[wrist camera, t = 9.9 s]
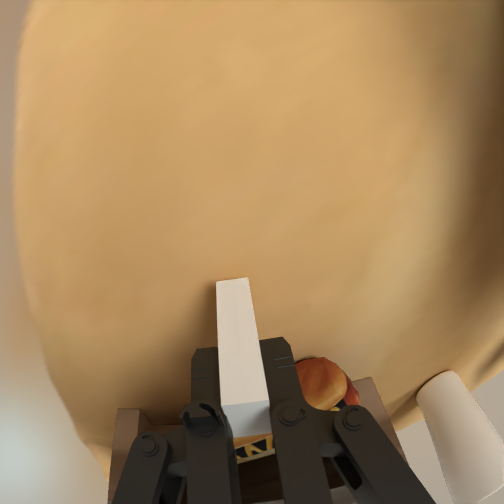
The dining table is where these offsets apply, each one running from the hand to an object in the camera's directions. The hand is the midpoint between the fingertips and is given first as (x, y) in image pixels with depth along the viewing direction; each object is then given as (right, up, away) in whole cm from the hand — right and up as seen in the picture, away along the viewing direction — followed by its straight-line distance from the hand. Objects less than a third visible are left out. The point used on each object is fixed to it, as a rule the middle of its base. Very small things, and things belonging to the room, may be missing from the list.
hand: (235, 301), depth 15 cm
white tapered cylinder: (+20, -12, +11) cm, 26 cm away
